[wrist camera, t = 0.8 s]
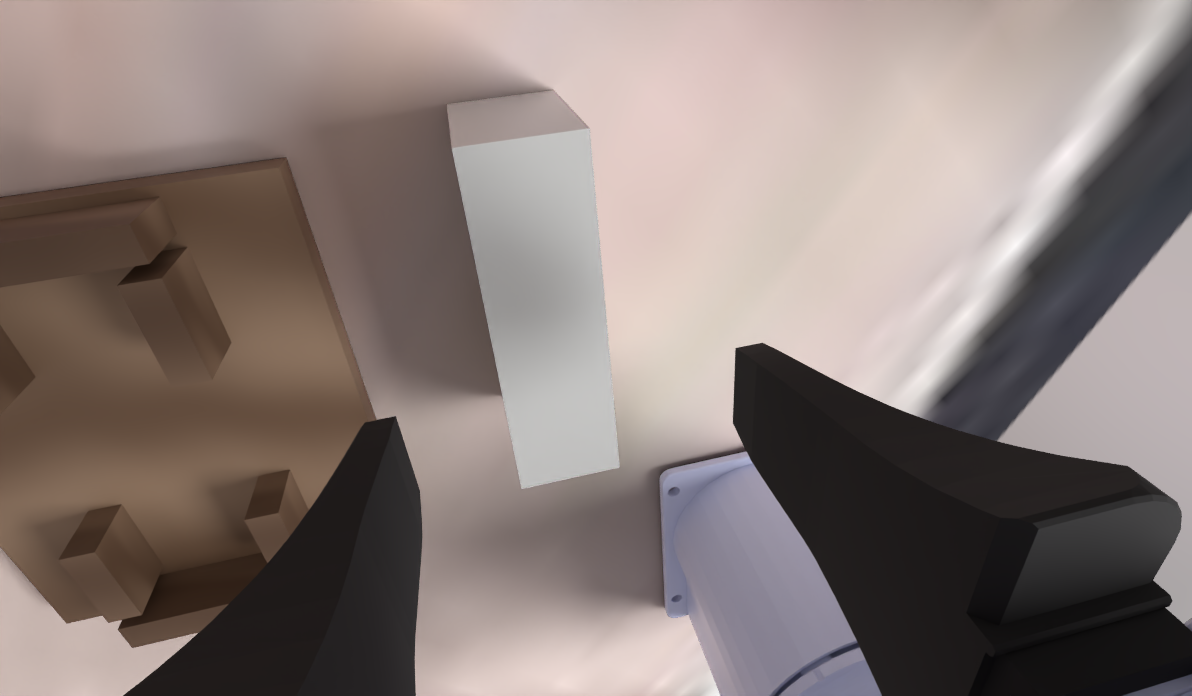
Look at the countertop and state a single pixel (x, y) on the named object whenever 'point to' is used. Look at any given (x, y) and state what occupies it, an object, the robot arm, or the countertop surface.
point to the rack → (165, 390)
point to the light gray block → (540, 278)
